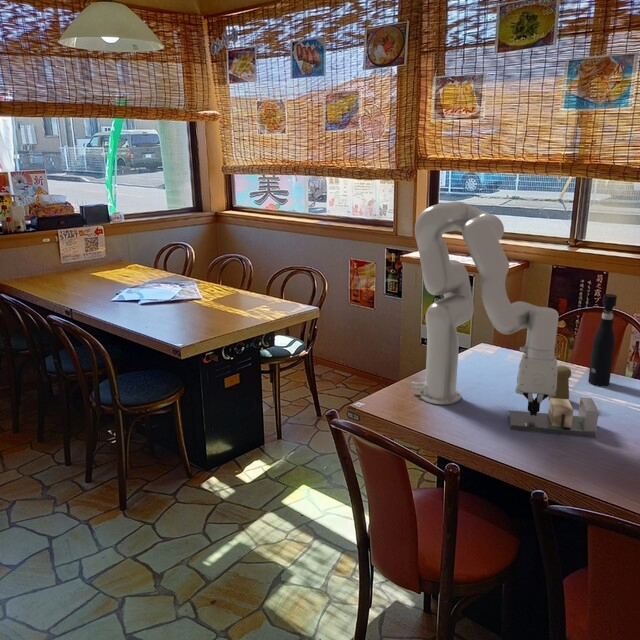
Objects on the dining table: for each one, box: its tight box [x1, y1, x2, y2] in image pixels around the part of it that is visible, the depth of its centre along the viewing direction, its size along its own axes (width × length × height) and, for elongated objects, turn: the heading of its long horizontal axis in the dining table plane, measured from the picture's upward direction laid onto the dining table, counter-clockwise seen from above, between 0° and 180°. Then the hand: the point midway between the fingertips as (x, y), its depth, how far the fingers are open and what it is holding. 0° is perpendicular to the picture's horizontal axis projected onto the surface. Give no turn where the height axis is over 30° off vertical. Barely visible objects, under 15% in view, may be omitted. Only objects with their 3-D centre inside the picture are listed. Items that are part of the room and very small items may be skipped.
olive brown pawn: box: [548, 365, 572, 402], centre depth 185 cm, size 6×6×11 cm
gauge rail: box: [507, 397, 599, 438], centre depth 169 cm, size 22×10×8 cm, turn 77°
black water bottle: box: [587, 293, 618, 388], centre depth 196 cm, size 6×6×30 cm
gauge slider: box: [547, 398, 574, 428], centre depth 168 cm, size 5×9×5 cm, turn 167°
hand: (532, 413), depth 170 cm, fingers closed
